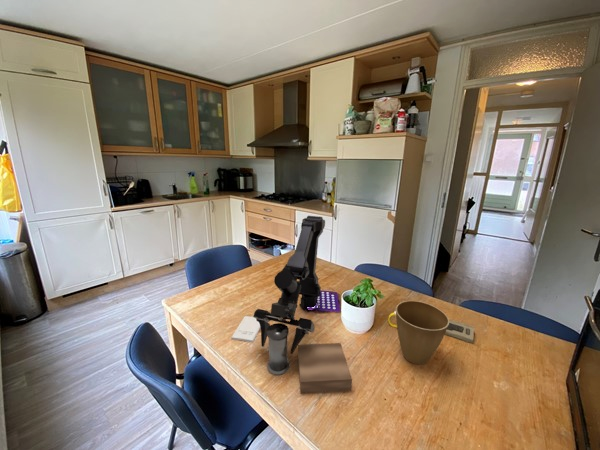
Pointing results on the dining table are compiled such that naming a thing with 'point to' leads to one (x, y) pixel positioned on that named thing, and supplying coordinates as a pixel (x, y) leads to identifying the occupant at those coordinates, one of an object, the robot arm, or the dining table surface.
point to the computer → (460, 331)
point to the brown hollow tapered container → (420, 330)
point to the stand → (323, 368)
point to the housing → (278, 349)
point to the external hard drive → (247, 330)
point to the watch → (389, 319)
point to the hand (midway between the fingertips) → (276, 350)
